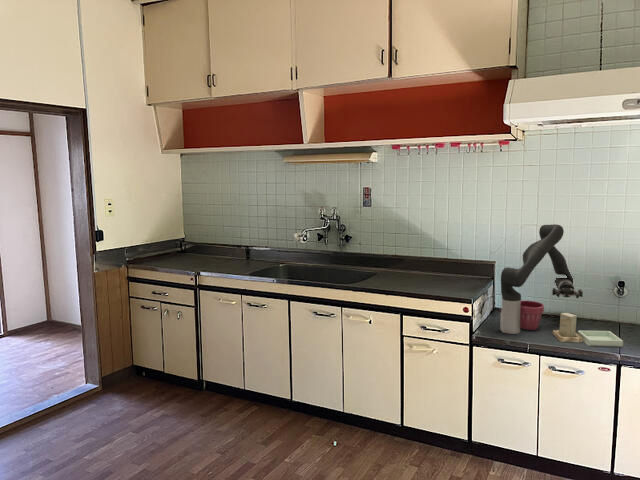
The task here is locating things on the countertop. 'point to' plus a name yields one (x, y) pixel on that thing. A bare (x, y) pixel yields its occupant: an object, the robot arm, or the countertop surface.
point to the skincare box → (567, 325)
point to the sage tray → (600, 338)
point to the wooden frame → (567, 339)
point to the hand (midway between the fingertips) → (567, 295)
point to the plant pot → (530, 314)
